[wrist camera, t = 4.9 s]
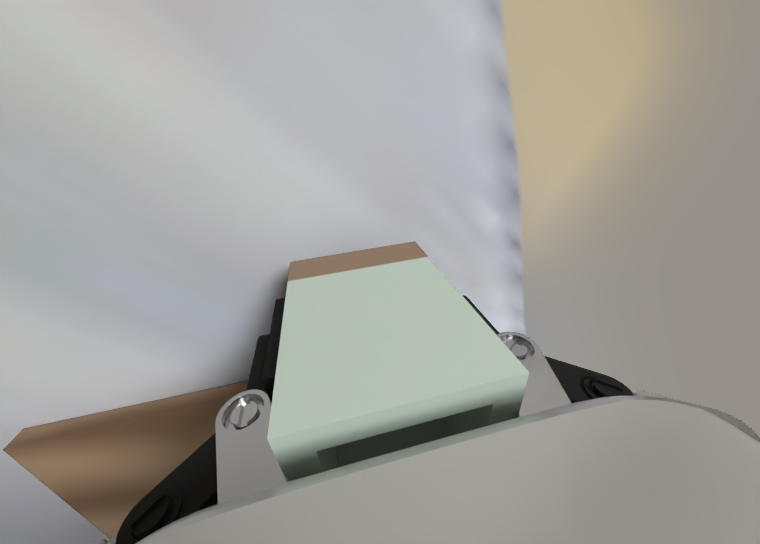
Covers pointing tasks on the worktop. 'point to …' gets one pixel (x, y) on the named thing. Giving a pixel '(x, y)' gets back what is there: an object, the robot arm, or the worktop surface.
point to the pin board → (119, 451)
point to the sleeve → (382, 361)
